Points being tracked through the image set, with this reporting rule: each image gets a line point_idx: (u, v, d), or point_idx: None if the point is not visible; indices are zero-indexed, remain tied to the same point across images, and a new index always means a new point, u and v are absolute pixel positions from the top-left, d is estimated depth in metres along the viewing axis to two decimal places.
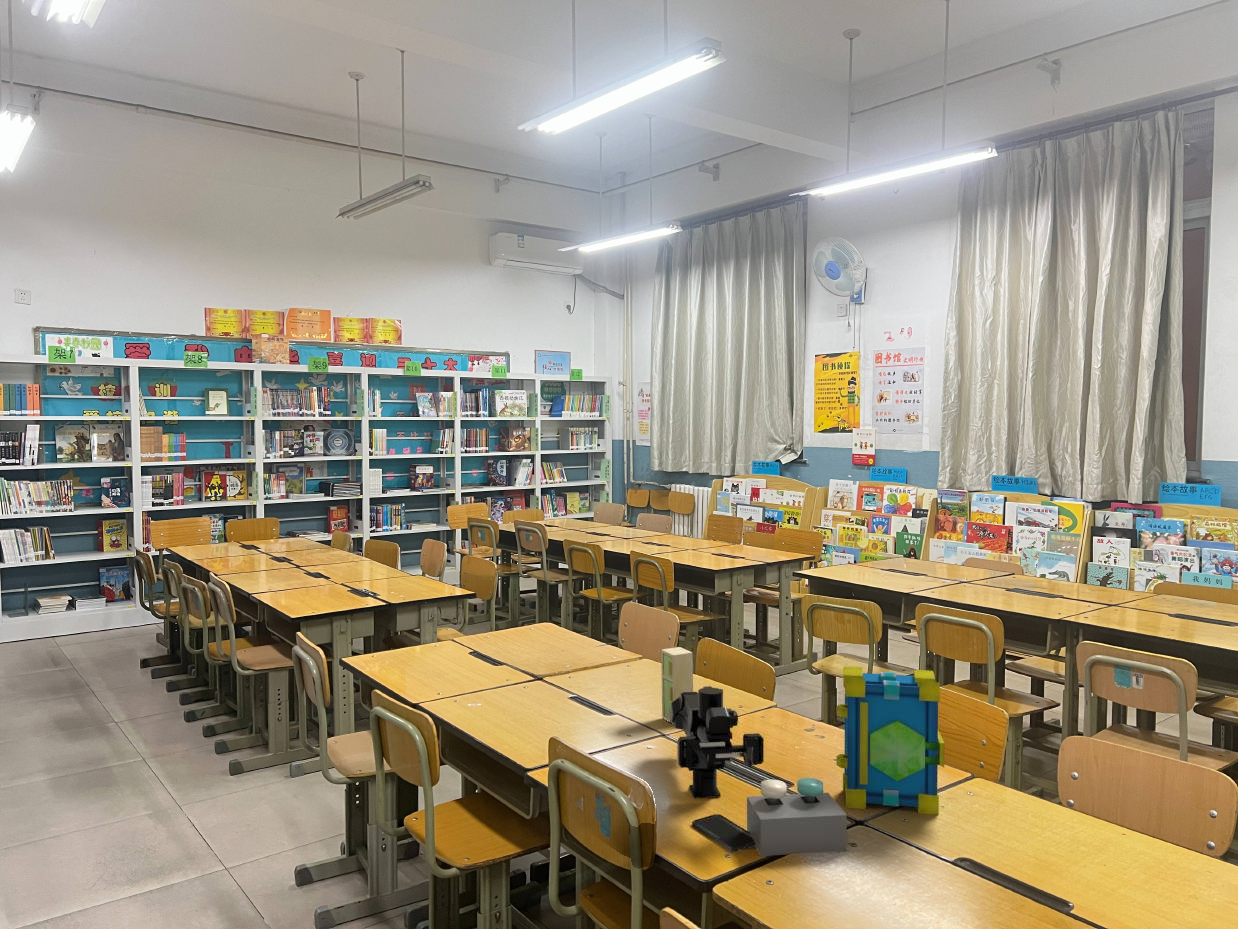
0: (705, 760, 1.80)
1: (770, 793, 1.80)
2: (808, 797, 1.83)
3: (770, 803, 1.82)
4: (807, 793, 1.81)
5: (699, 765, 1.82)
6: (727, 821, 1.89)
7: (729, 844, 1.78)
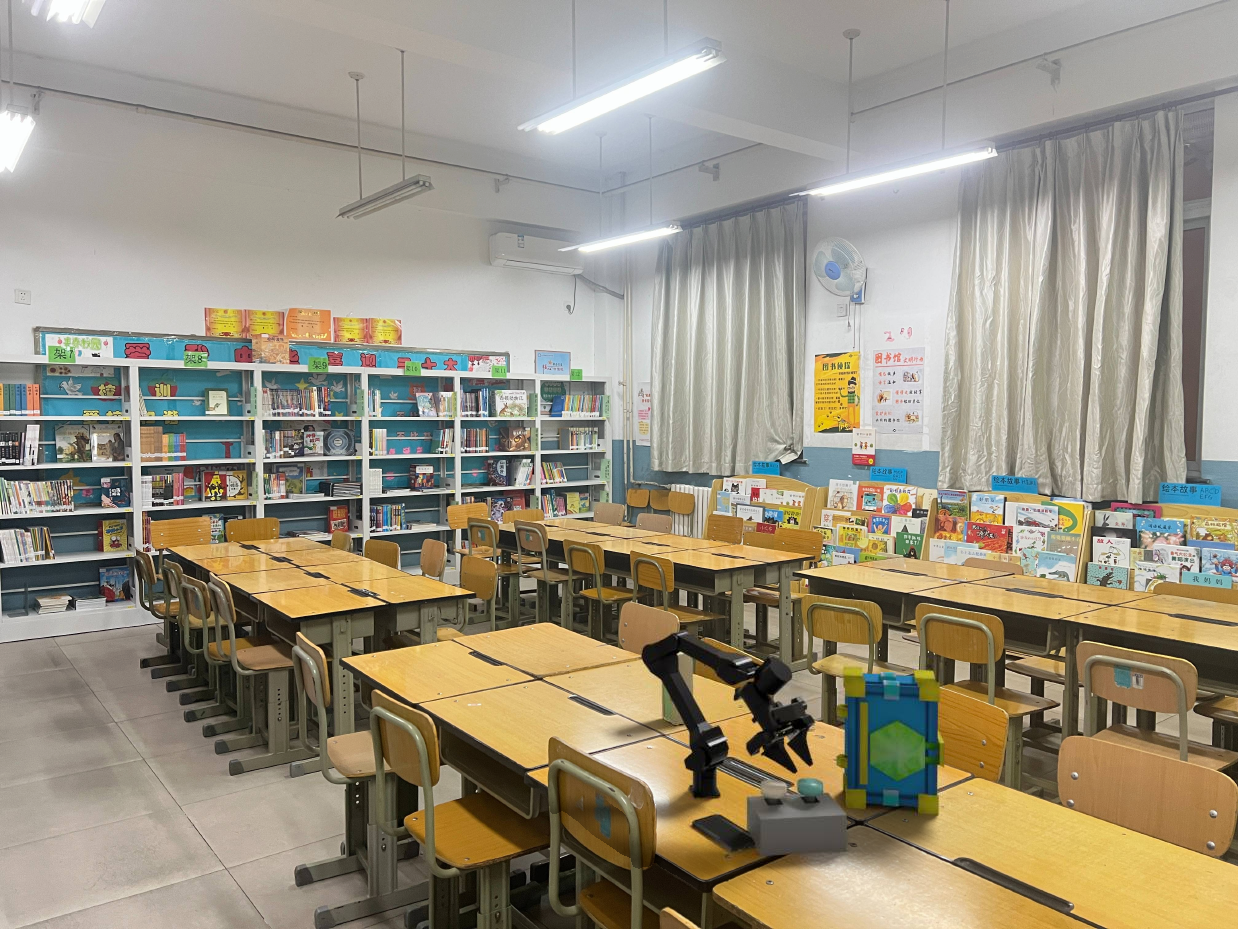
0: (794, 766, 1.83)
1: (770, 793, 1.80)
2: (808, 797, 1.83)
3: (770, 803, 1.82)
4: (807, 793, 1.81)
5: (781, 763, 1.84)
6: (727, 821, 1.89)
7: (729, 844, 1.78)
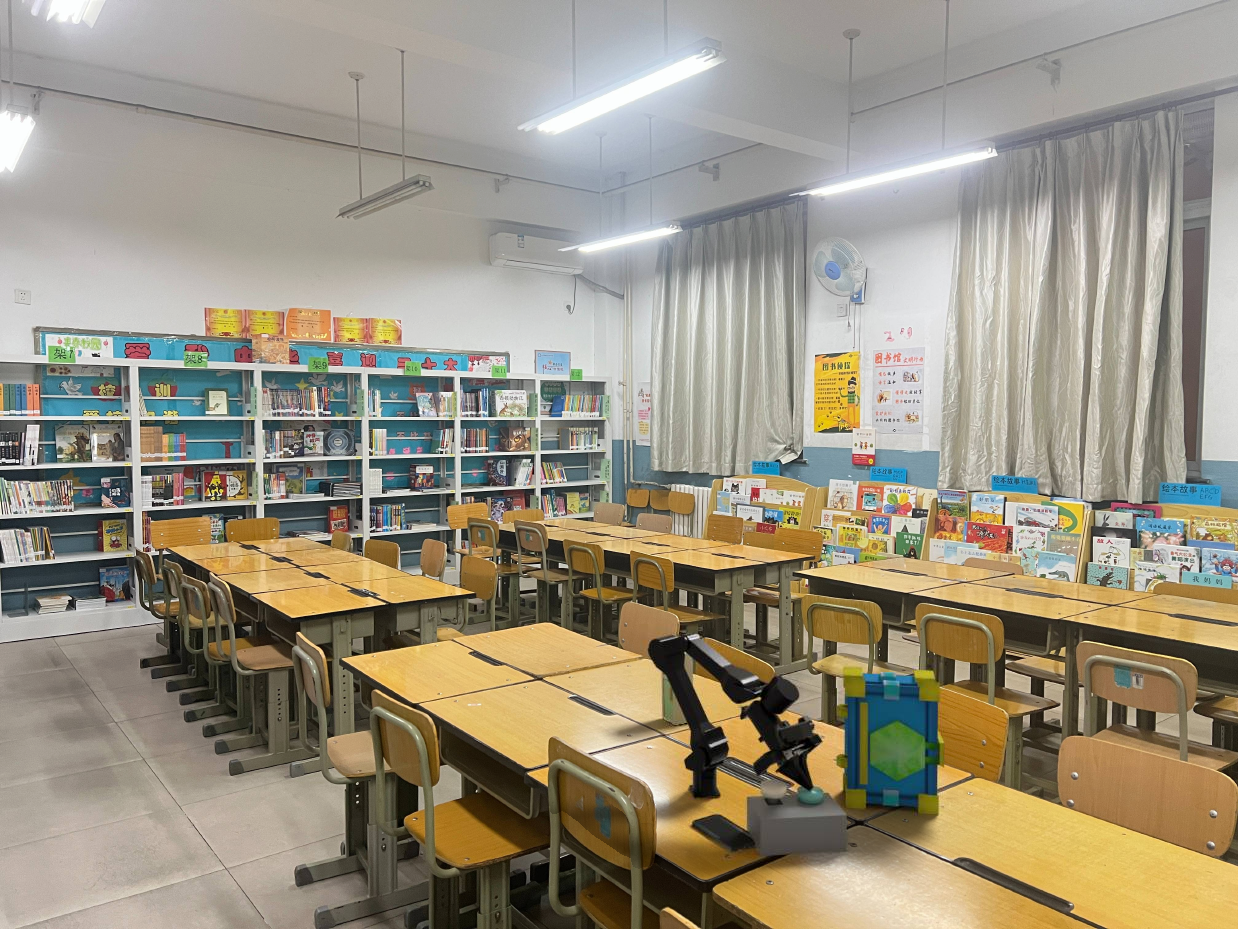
0: (808, 783, 1.83)
1: (770, 793, 1.80)
2: None
3: (770, 803, 1.82)
4: (807, 801, 1.81)
5: (796, 780, 1.85)
6: (727, 821, 1.89)
7: (729, 844, 1.78)
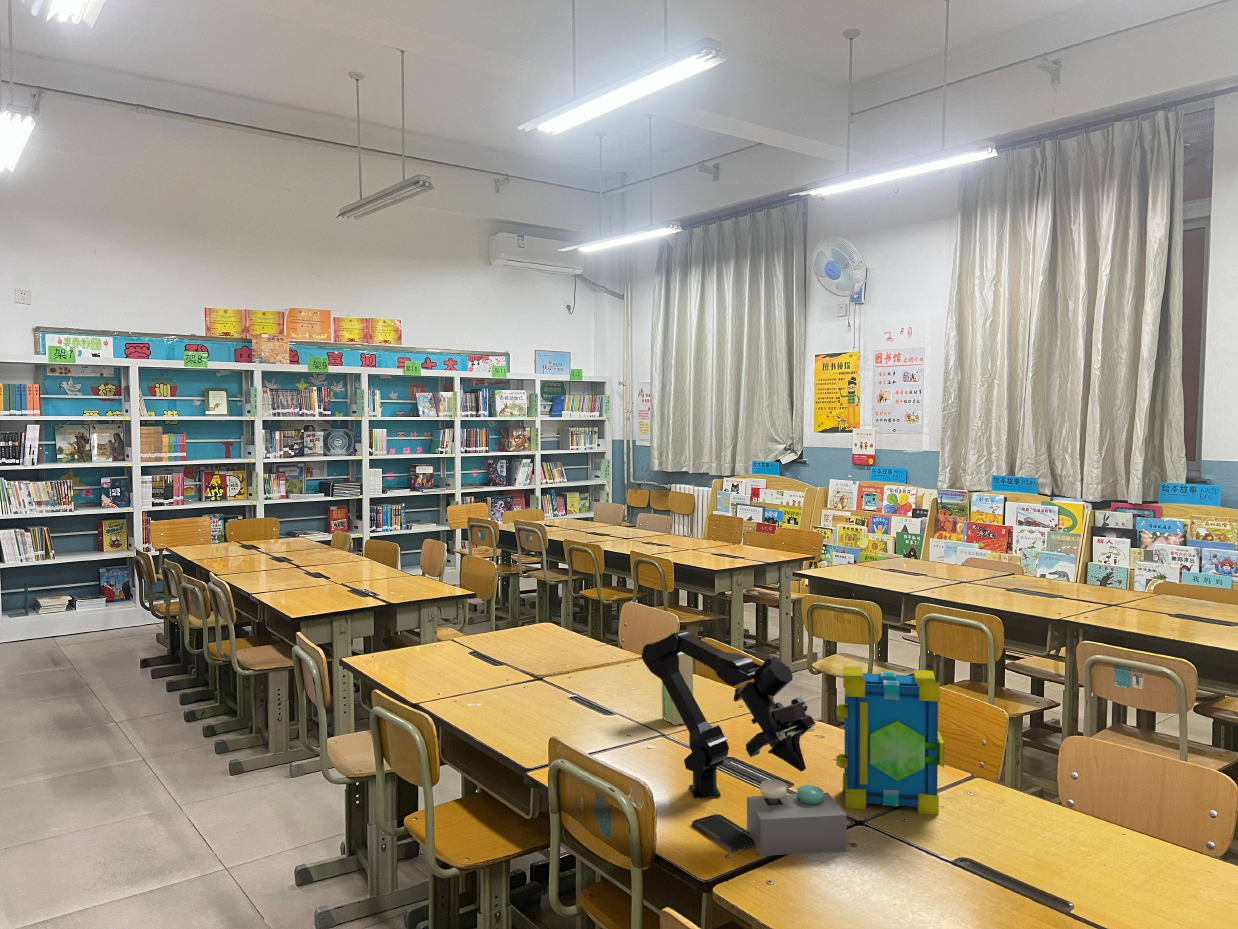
0: (801, 764, 1.84)
1: (770, 793, 1.80)
2: None
3: (770, 803, 1.82)
4: (807, 801, 1.81)
5: (789, 761, 1.86)
6: (727, 821, 1.89)
7: (729, 844, 1.78)
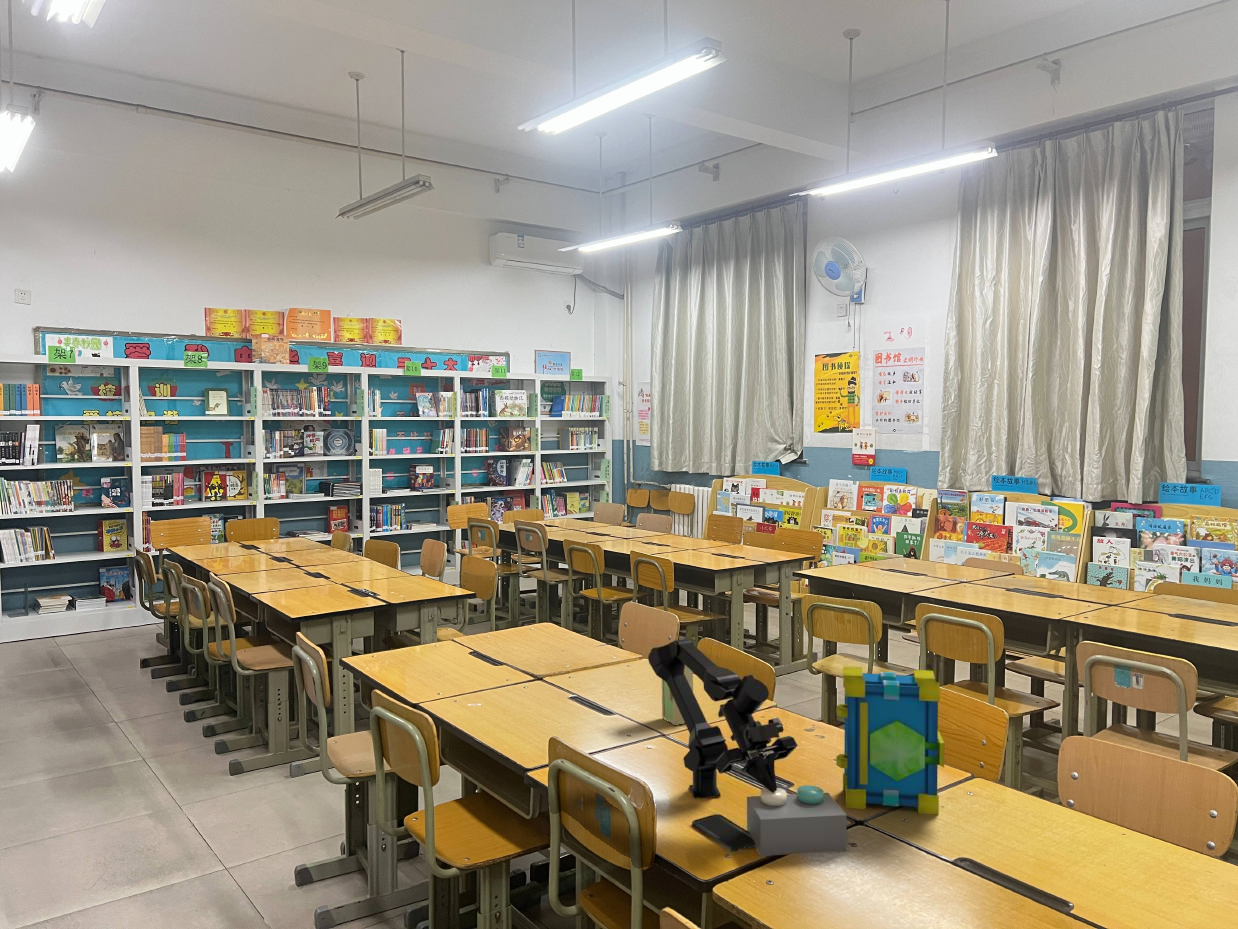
0: (772, 785, 1.83)
1: (770, 801, 1.80)
2: None
3: None
4: (807, 801, 1.81)
5: (761, 781, 1.84)
6: (727, 821, 1.89)
7: (729, 844, 1.78)
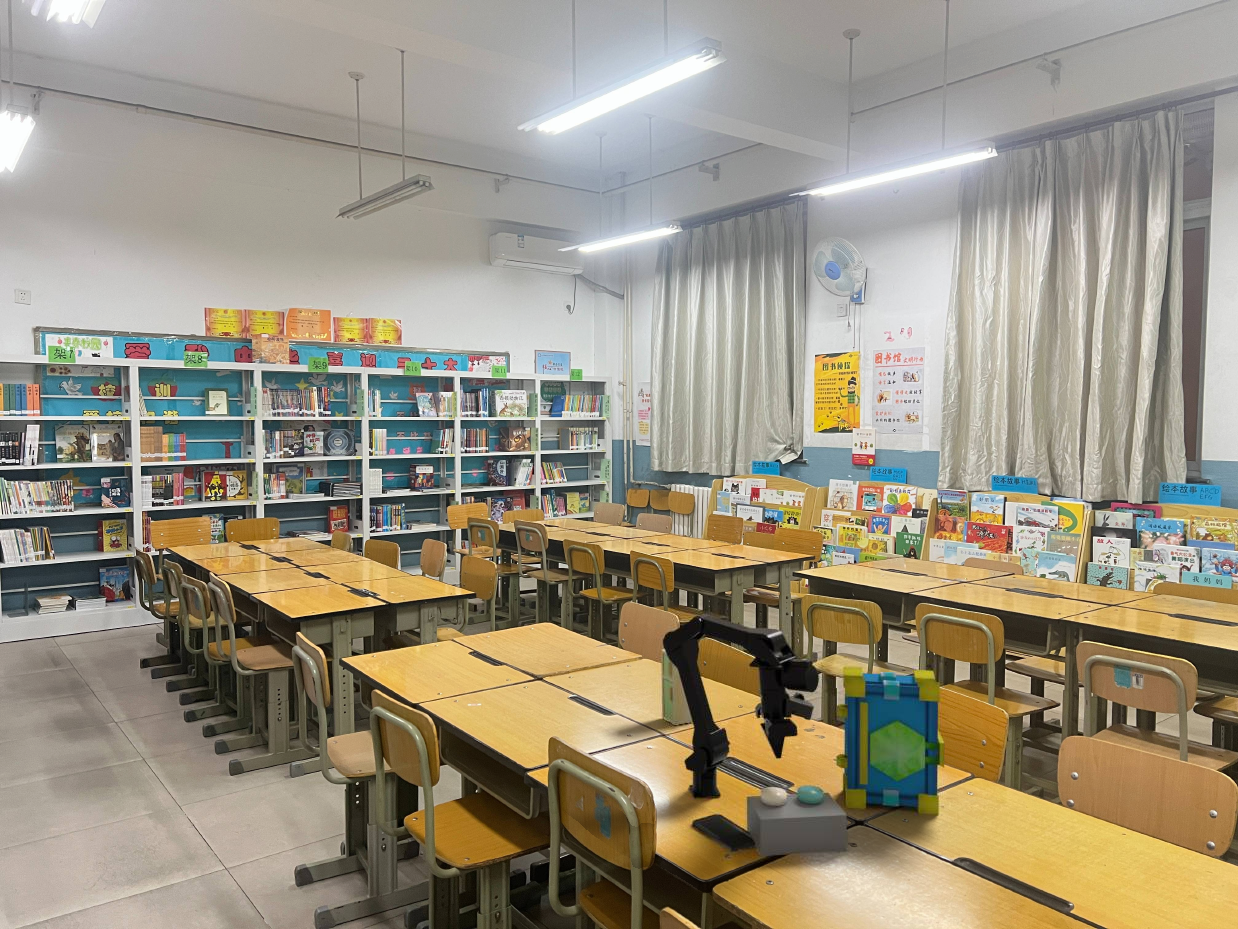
0: (781, 753, 1.91)
1: (770, 801, 1.80)
2: None
3: None
4: (807, 801, 1.81)
5: (773, 746, 1.90)
6: (727, 821, 1.89)
7: (729, 844, 1.78)
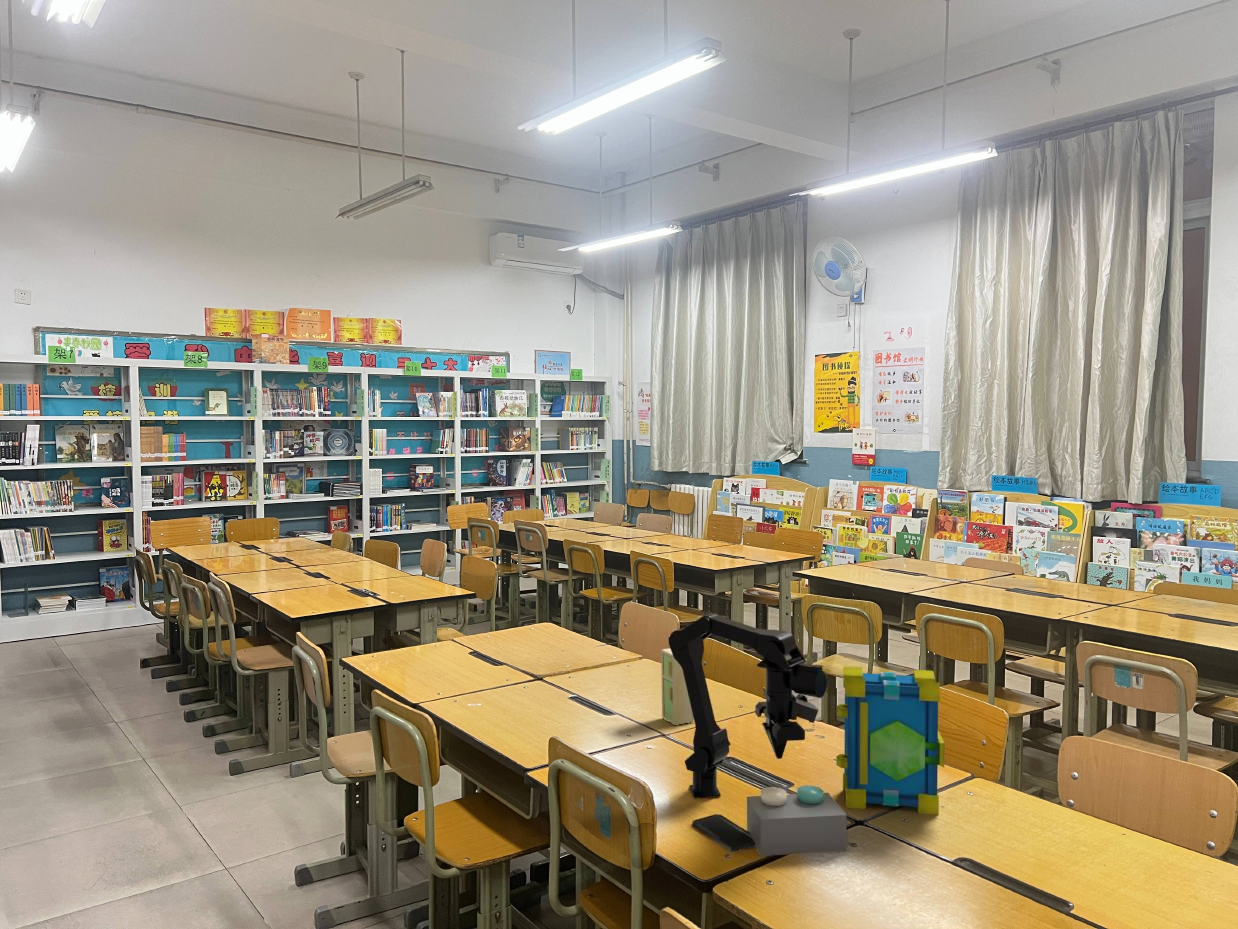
0: None
1: (770, 801, 1.80)
2: None
3: None
4: (807, 801, 1.81)
5: (776, 746, 1.91)
6: (727, 821, 1.89)
7: (729, 844, 1.78)
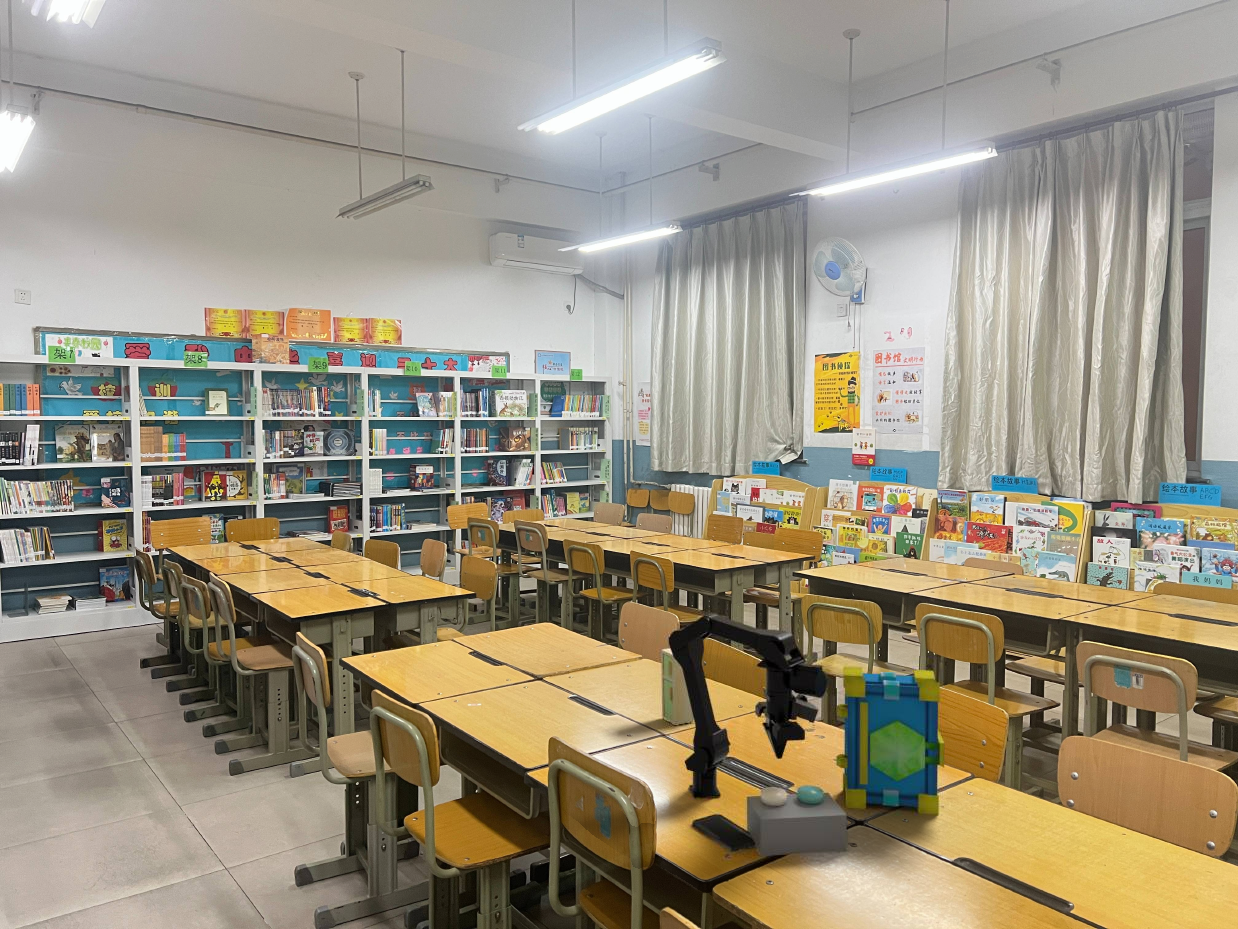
0: None
1: (770, 801, 1.80)
2: None
3: None
4: (807, 801, 1.81)
5: (776, 746, 1.91)
6: (727, 821, 1.89)
7: (729, 844, 1.78)
